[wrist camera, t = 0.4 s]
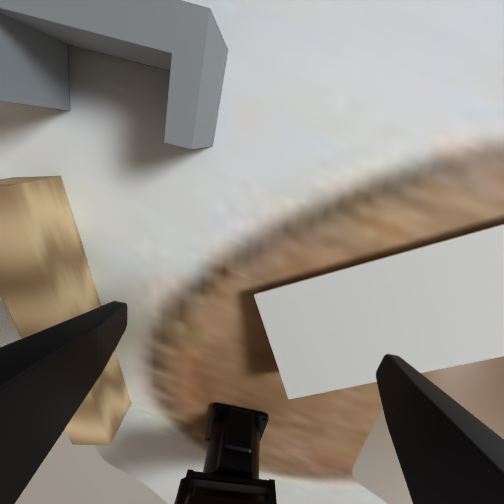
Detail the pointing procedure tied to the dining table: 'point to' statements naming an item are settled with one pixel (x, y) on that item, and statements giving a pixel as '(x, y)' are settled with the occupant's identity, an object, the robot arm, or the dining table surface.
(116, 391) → the oak slat
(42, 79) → the end cap
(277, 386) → the dining table surface
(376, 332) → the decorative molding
